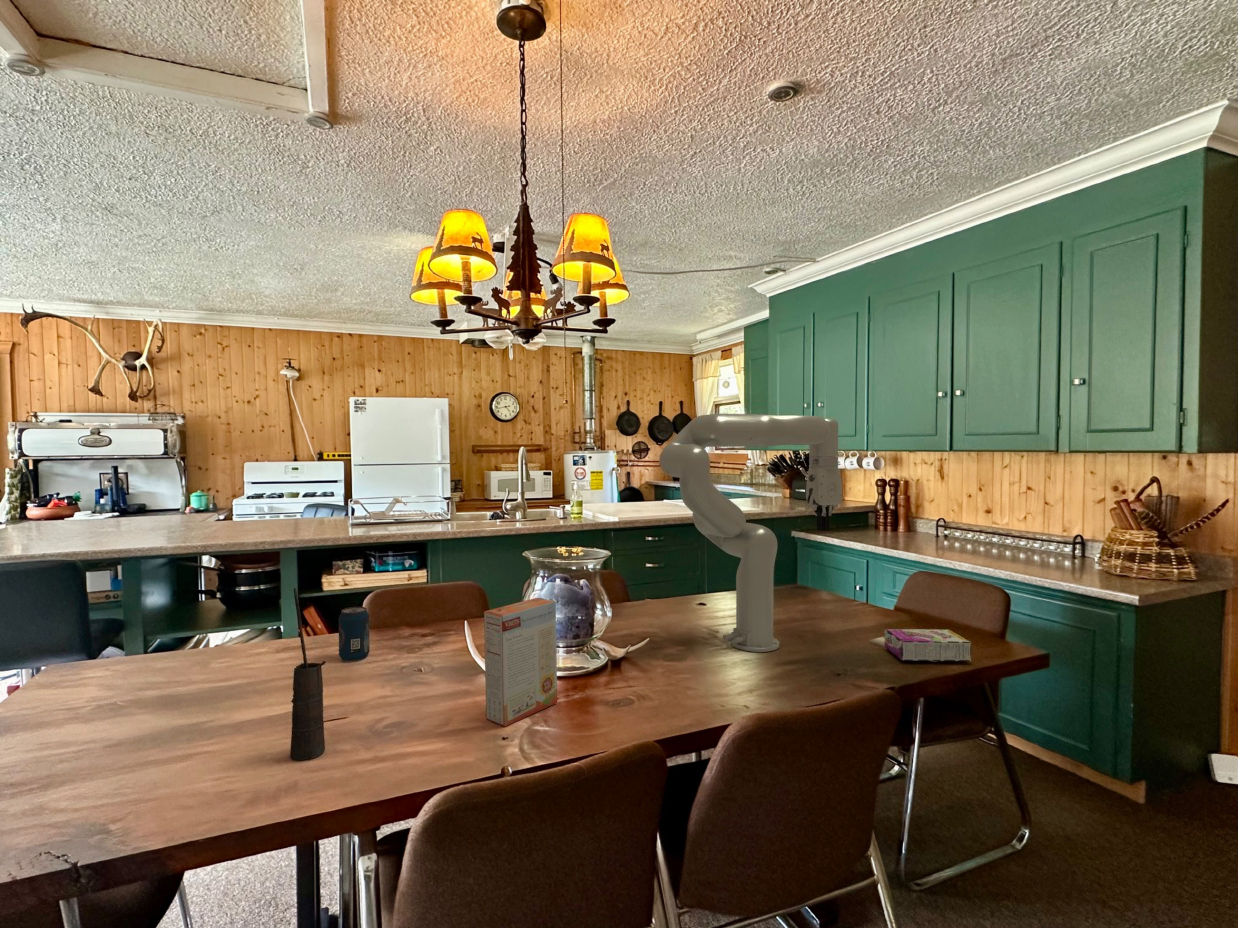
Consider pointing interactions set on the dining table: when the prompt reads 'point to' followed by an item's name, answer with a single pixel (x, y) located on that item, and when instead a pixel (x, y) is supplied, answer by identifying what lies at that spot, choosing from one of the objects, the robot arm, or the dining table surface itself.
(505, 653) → the cracker box
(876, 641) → the beige flat rectangular panel
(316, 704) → the butter churn
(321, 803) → the dining table surface
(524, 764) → the dining table surface
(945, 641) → the candy bar box
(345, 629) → the soda can
